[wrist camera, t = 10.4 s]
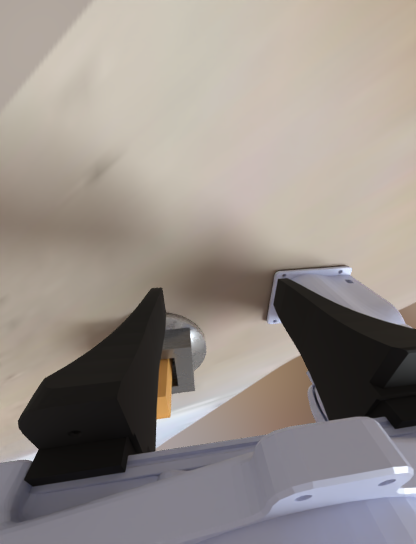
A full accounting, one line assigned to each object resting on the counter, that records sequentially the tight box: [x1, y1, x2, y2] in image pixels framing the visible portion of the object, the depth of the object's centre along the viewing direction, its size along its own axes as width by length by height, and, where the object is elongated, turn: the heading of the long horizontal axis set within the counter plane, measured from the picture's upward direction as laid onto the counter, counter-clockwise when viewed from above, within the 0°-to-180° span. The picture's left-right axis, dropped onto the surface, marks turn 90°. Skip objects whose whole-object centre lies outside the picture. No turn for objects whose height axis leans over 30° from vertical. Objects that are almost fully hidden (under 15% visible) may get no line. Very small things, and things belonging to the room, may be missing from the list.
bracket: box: [161, 313, 206, 394], centre depth 26 cm, size 12×12×4 cm
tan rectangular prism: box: [156, 358, 173, 419], centre depth 23 cm, size 3×4×7 cm
